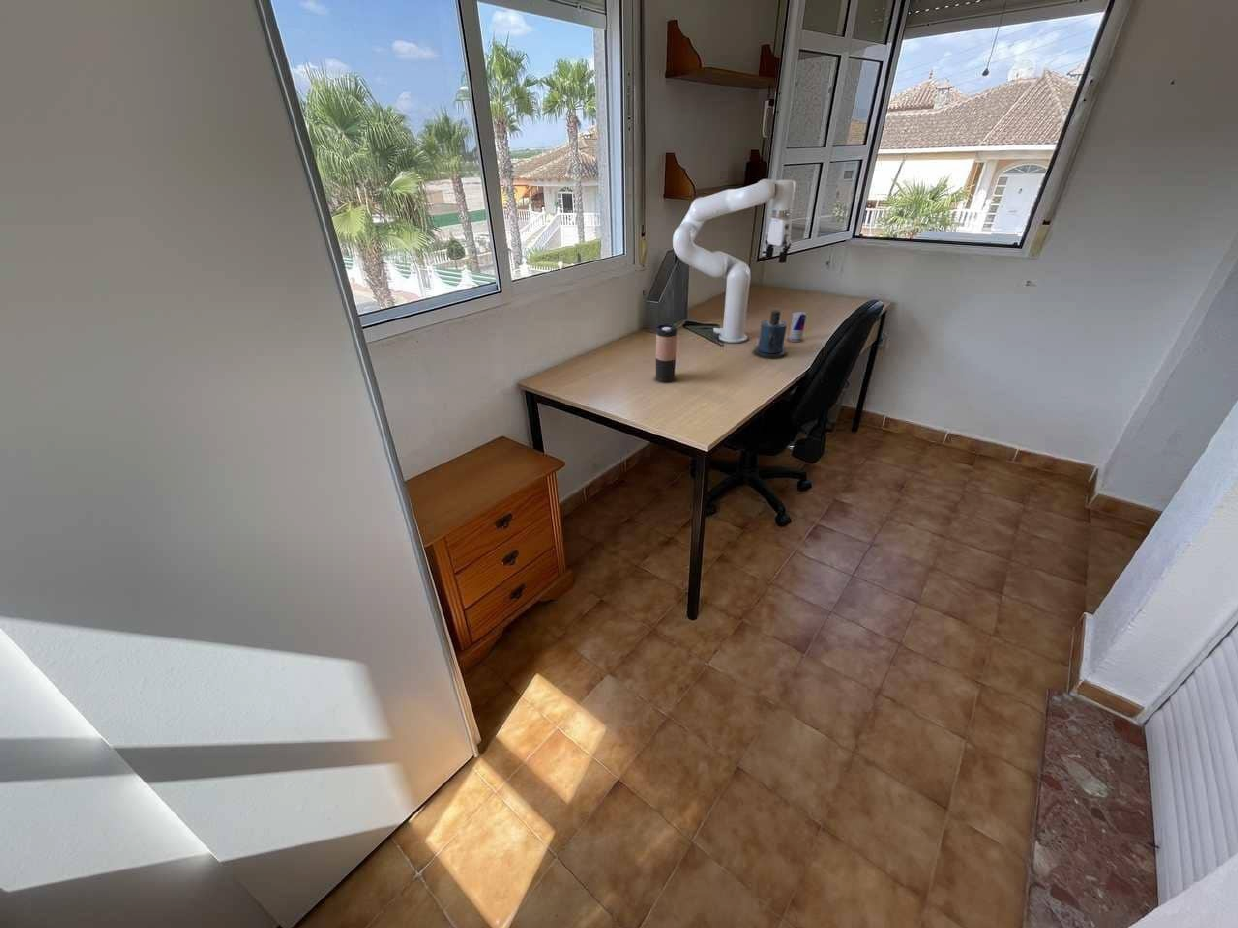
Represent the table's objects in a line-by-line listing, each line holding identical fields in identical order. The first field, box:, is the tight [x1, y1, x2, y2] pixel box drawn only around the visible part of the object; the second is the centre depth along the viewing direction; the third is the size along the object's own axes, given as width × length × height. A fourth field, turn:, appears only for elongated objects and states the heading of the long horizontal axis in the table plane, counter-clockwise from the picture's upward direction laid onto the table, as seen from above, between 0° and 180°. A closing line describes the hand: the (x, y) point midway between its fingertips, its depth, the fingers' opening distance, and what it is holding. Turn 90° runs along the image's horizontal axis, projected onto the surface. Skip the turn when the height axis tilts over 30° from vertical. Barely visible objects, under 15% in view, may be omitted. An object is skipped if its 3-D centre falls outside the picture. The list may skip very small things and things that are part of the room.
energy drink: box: [788, 311, 807, 343], centre depth 231 cm, size 5×5×12 cm
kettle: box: [758, 309, 788, 353], centre depth 216 cm, size 16×10×16 cm, turn 160°
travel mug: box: [655, 323, 678, 383], centre depth 194 cm, size 8×8×20 cm
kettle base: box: [753, 345, 787, 360], centre depth 221 cm, size 13×13×2 cm
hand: (775, 260), depth 217 cm, fingers open, 9 cm apart
